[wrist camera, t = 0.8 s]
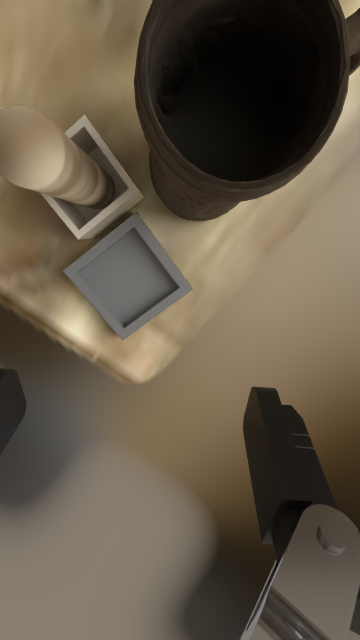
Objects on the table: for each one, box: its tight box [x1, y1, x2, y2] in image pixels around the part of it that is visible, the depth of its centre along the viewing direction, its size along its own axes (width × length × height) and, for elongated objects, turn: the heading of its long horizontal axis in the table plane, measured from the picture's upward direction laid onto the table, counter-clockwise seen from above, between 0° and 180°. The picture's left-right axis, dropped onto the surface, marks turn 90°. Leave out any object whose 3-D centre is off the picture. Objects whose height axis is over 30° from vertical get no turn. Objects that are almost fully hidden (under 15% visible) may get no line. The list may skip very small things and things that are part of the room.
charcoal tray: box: [63, 212, 192, 340], centre depth 33 cm, size 10×10×2 cm
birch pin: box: [0, 105, 115, 209], centre depth 24 cm, size 4×4×16 cm
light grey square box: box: [41, 115, 144, 240], centre depth 29 cm, size 7×7×6 cm
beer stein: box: [134, 0, 360, 221], centre depth 22 cm, size 15×11×20 cm
